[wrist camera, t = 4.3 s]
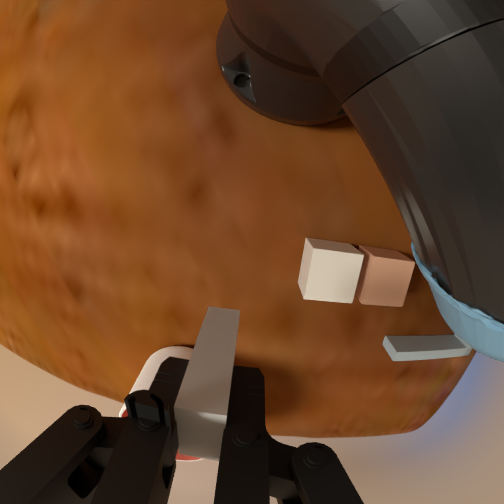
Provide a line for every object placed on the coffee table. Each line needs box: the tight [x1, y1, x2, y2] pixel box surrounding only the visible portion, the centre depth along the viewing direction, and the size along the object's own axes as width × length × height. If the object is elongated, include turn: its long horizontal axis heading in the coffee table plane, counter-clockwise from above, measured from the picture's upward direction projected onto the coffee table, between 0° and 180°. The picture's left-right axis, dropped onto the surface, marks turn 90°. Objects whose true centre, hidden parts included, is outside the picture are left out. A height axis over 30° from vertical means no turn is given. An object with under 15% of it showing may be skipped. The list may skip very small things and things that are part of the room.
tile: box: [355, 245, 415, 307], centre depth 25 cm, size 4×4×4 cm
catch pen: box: [383, 334, 472, 361], centre depth 25 cm, size 13×18×4 cm
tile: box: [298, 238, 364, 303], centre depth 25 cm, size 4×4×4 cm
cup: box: [119, 346, 204, 461], centre depth 26 cm, size 10×10×10 cm
